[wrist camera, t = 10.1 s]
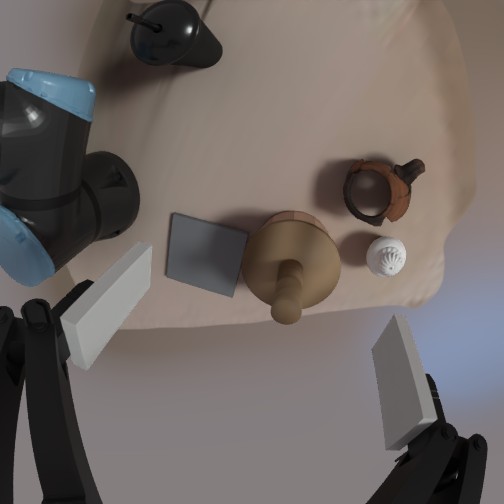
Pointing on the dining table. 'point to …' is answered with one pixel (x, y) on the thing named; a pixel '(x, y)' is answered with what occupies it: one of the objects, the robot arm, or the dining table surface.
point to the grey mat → (205, 254)
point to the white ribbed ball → (386, 256)
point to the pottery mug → (398, 188)
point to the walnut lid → (291, 267)
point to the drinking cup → (173, 36)
